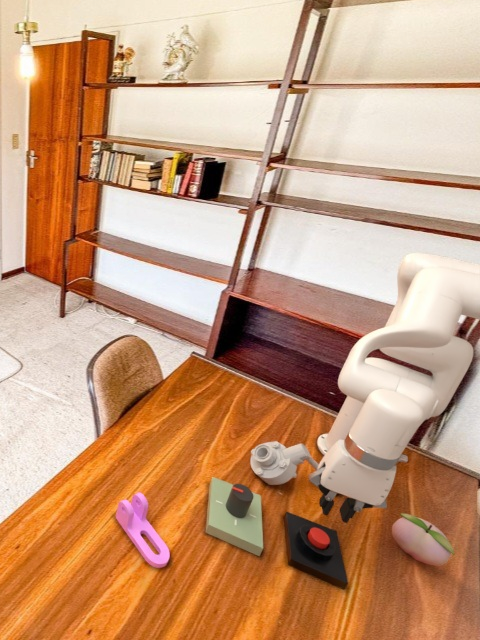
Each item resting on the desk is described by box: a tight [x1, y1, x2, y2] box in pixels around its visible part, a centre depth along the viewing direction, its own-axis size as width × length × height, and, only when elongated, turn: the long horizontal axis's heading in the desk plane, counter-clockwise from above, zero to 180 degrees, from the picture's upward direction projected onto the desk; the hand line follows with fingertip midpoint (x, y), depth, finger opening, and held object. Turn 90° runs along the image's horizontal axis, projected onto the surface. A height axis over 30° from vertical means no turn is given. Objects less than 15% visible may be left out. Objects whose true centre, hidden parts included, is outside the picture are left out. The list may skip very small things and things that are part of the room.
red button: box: [308, 528, 330, 549], centre depth 86 cm, size 4×4×2 cm
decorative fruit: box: [391, 512, 456, 567], centre depth 86 cm, size 9×8×10 cm
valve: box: [249, 440, 319, 486], centre depth 102 cm, size 10×20×15 cm
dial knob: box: [226, 483, 254, 518], centre depth 91 cm, size 4×4×6 cm
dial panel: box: [205, 476, 264, 557], centre depth 93 cm, size 14×11×3 cm
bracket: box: [115, 491, 171, 569], centre depth 87 cm, size 13×6×7 cm, turn 26°
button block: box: [283, 511, 349, 590], centre depth 87 cm, size 12×10×4 cm
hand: (333, 512), depth 82 cm, fingers closed
